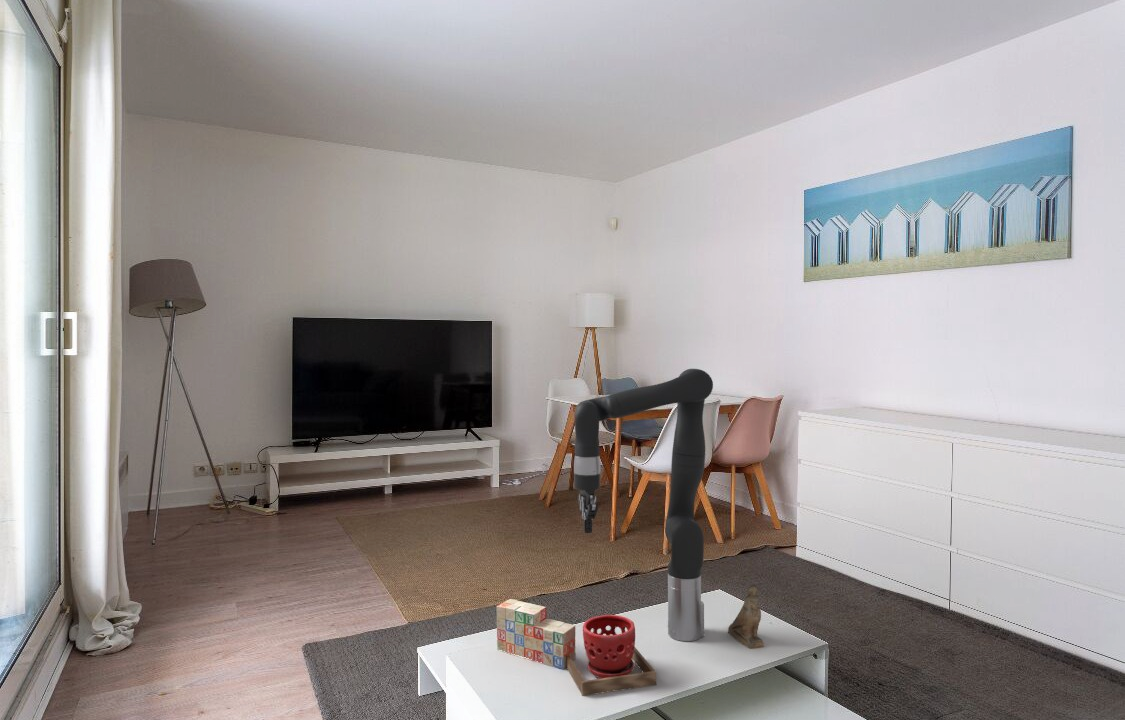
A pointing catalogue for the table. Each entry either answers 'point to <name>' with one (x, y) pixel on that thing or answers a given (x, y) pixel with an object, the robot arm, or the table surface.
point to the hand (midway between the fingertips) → (587, 532)
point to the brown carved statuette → (748, 621)
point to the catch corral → (614, 678)
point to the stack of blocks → (534, 634)
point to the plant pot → (609, 646)
